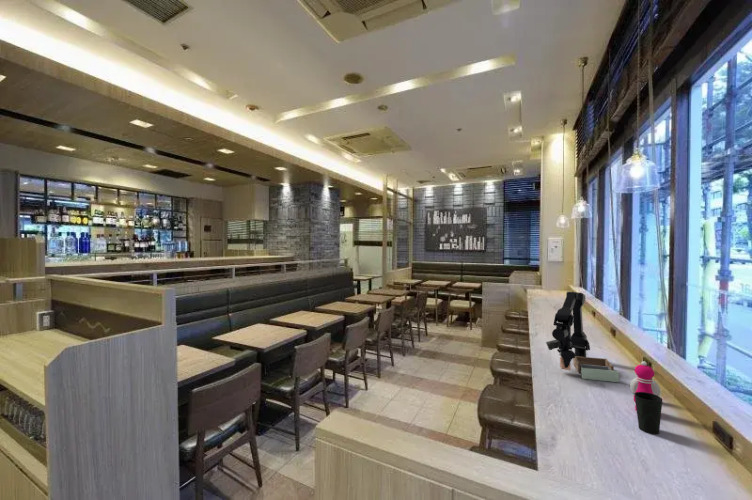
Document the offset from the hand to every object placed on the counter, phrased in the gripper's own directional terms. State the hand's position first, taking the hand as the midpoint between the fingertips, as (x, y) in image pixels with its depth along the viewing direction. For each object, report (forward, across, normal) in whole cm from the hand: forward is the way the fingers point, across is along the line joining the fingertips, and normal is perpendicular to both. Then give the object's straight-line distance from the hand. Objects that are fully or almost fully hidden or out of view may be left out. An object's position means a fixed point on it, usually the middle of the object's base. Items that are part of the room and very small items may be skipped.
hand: (565, 366), depth 169 cm
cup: (+4, +50, +18) cm, 53 cm away
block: (+1, 0, 0) cm, 1 cm away
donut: (+4, +23, +26) cm, 35 cm away
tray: (+4, -1, +14) cm, 15 cm away
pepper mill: (+4, +35, +22) cm, 42 cm away
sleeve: (+4, -8, +14) cm, 17 cm away
